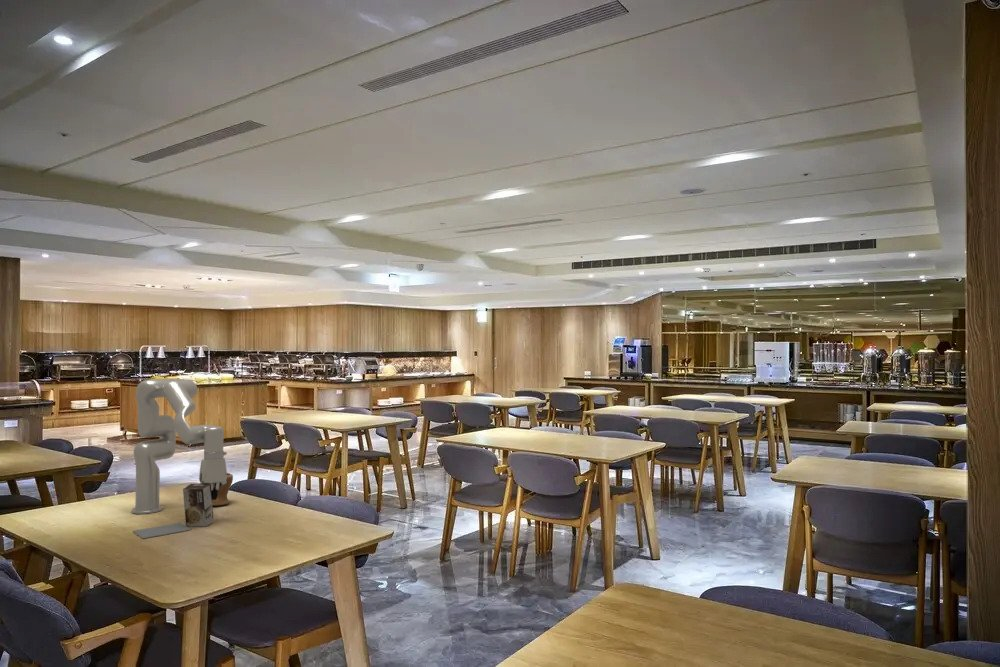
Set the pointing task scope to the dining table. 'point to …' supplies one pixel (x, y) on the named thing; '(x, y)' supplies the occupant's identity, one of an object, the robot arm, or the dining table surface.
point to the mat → (161, 530)
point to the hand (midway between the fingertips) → (213, 499)
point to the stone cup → (223, 492)
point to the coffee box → (198, 504)
